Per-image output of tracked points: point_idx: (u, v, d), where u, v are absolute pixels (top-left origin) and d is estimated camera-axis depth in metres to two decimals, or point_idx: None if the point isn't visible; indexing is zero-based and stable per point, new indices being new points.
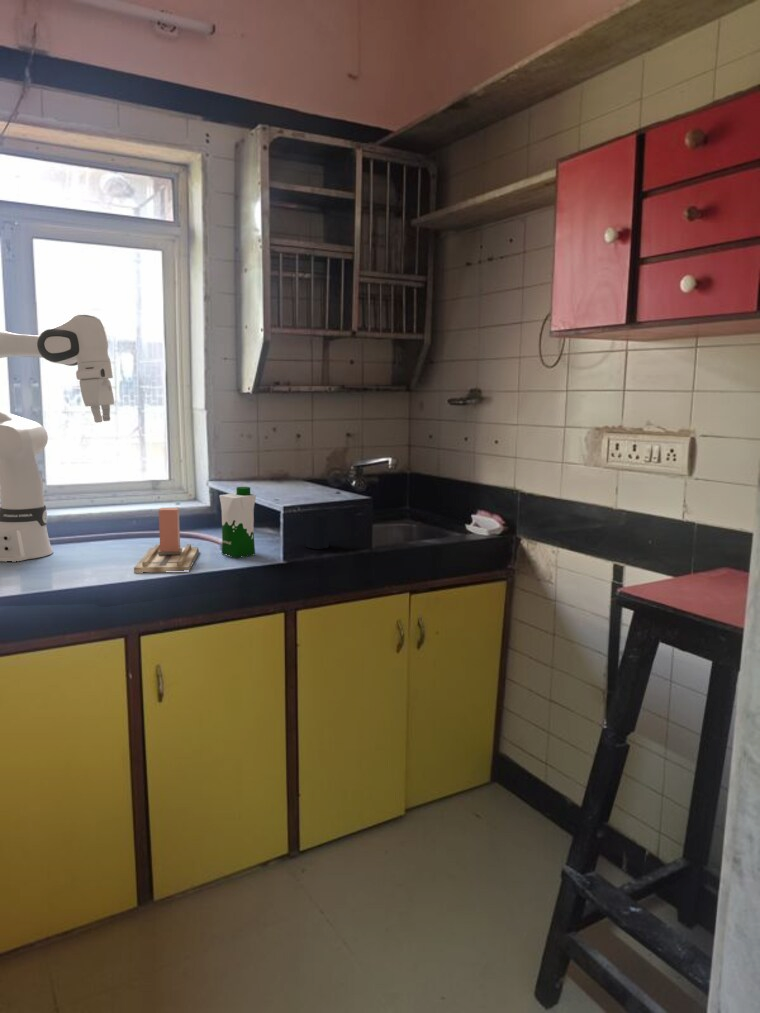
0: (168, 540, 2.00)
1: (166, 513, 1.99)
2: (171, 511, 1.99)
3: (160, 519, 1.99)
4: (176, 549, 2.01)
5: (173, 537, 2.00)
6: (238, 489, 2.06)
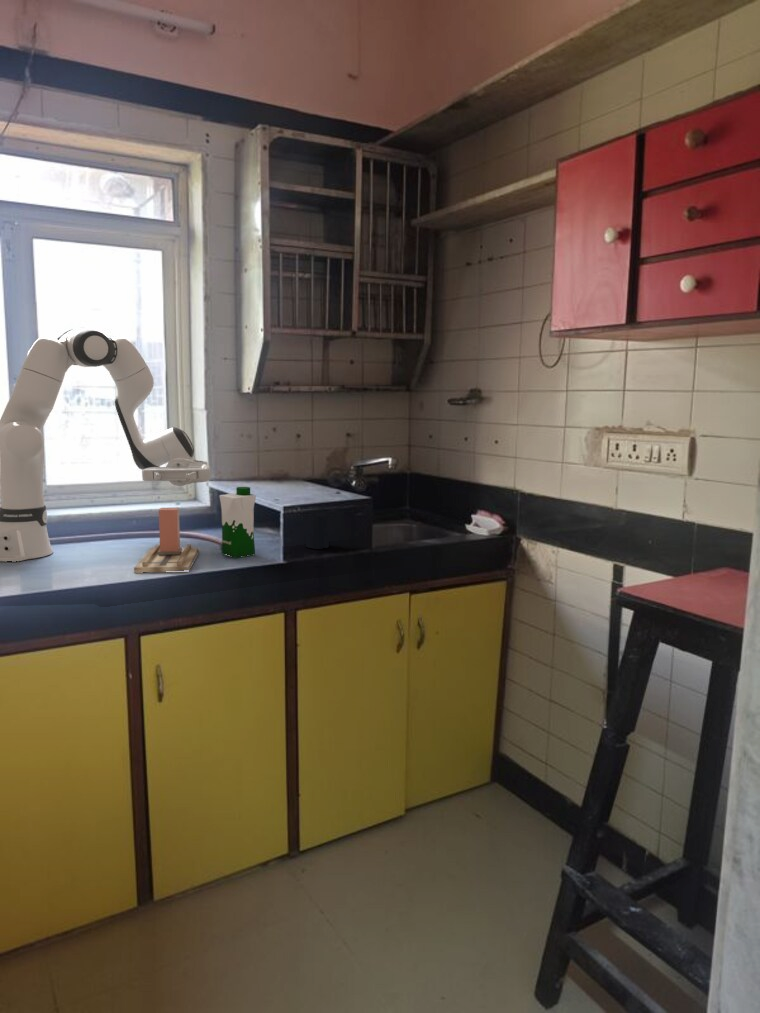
0: (168, 540, 2.00)
1: (166, 513, 1.99)
2: (171, 511, 1.99)
3: (160, 519, 1.99)
4: (176, 549, 2.01)
5: (173, 537, 2.00)
6: (238, 489, 2.06)
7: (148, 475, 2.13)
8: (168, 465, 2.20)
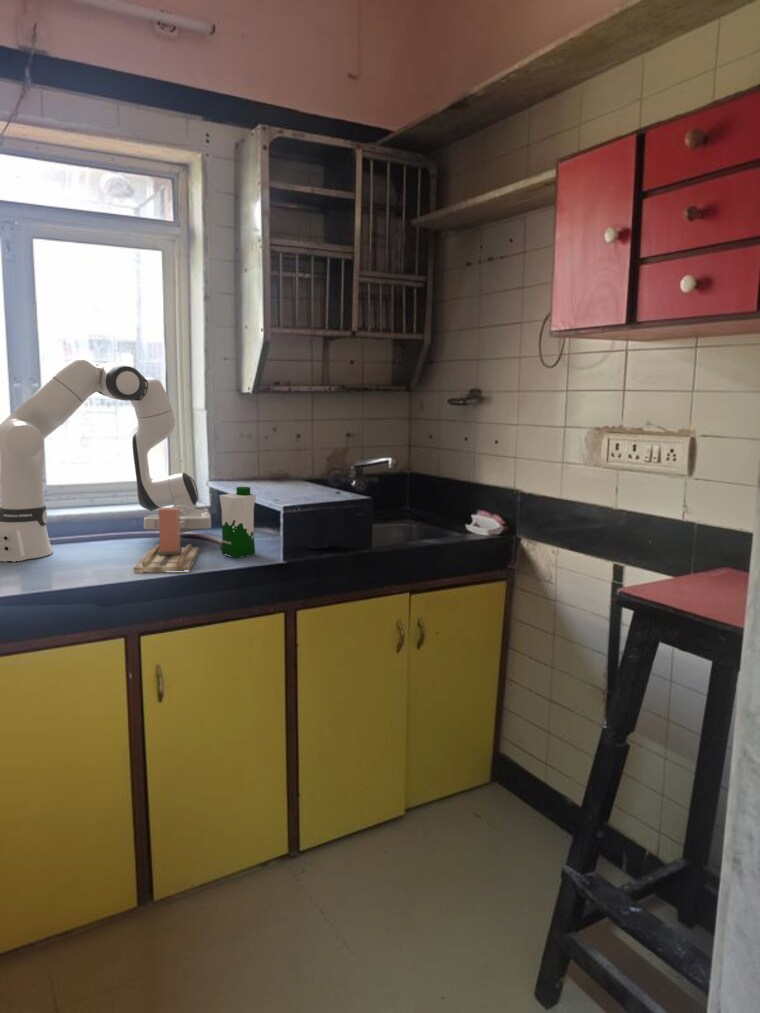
0: (168, 540, 2.00)
1: (166, 513, 1.99)
2: (171, 511, 1.99)
3: (160, 519, 1.99)
4: (176, 549, 2.01)
5: (173, 537, 2.00)
6: (238, 489, 2.06)
7: (149, 523, 2.15)
8: None
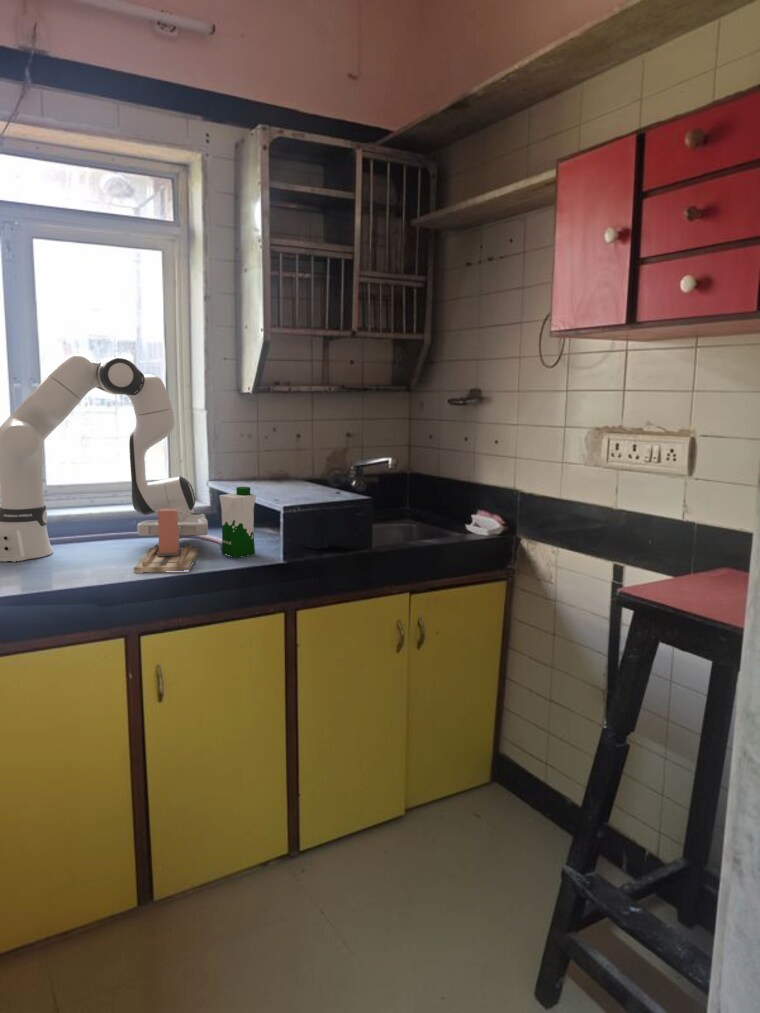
0: (167, 541, 1.99)
1: (166, 514, 1.97)
2: (170, 512, 1.97)
3: (159, 520, 1.97)
4: (175, 550, 1.99)
5: (172, 539, 1.99)
6: (238, 489, 2.06)
7: (143, 530, 2.06)
8: None
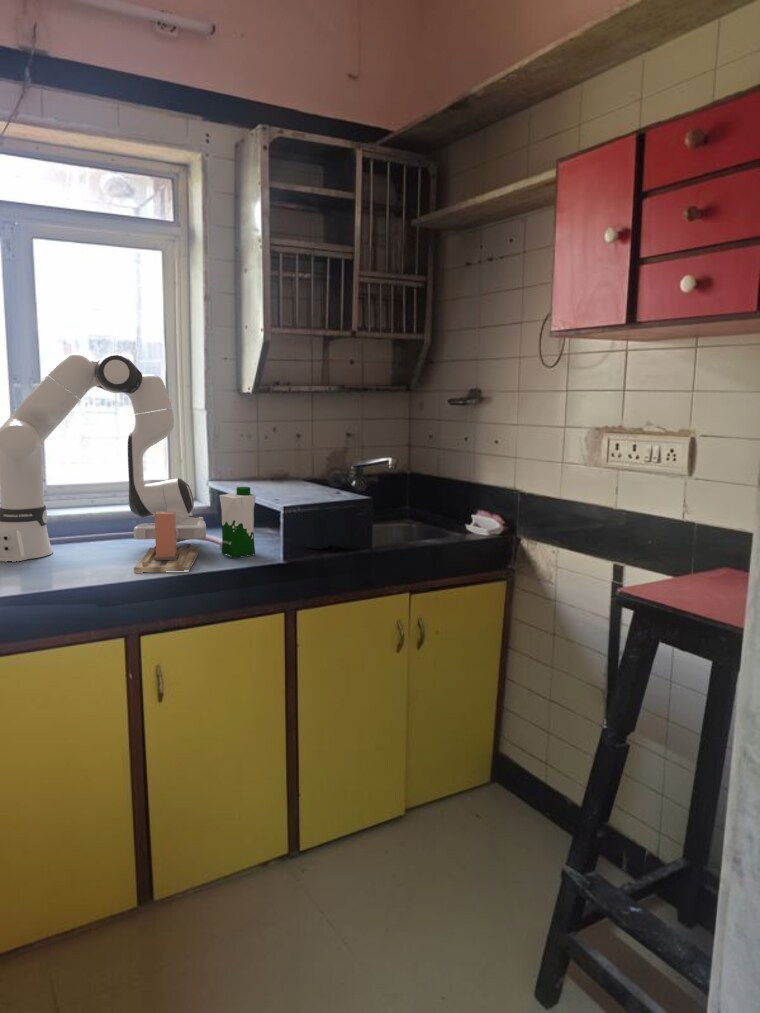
0: (164, 545, 1.94)
1: (163, 517, 1.92)
2: (167, 515, 1.92)
3: (156, 523, 1.92)
4: (173, 554, 1.94)
5: (170, 542, 1.94)
6: (238, 489, 2.06)
7: (140, 533, 2.01)
8: None
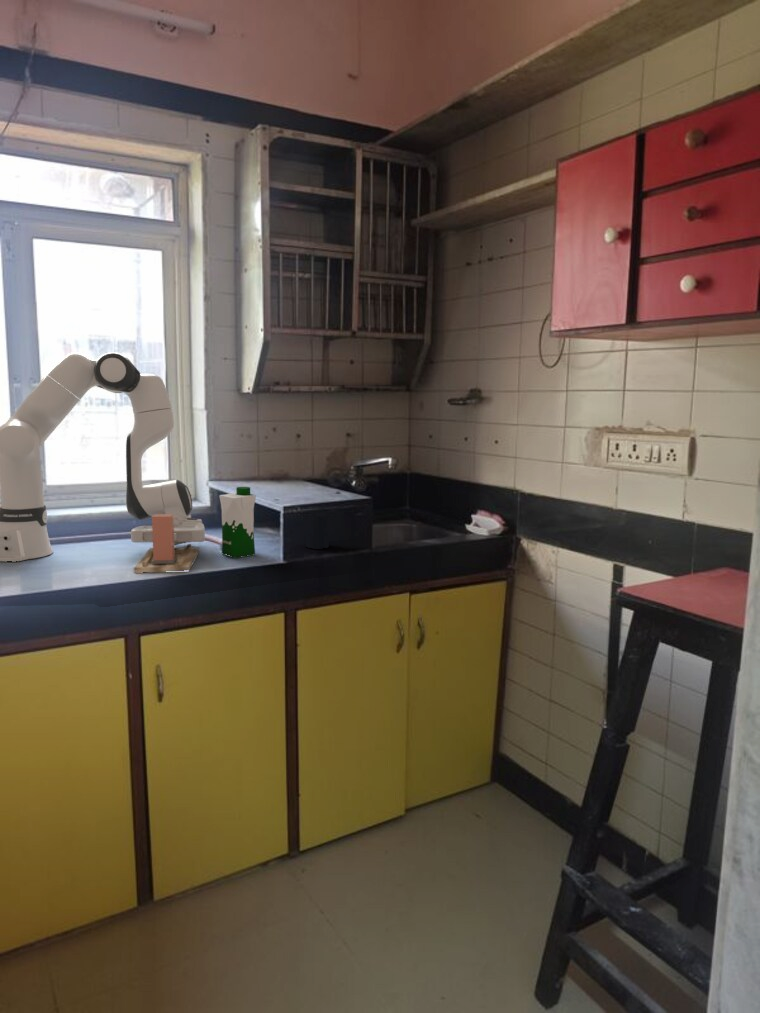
0: (162, 548, 1.90)
1: (160, 519, 1.88)
2: (165, 518, 1.88)
3: (153, 526, 1.88)
4: (170, 558, 1.90)
5: (167, 546, 1.90)
6: (238, 489, 2.06)
7: (137, 536, 1.97)
8: None
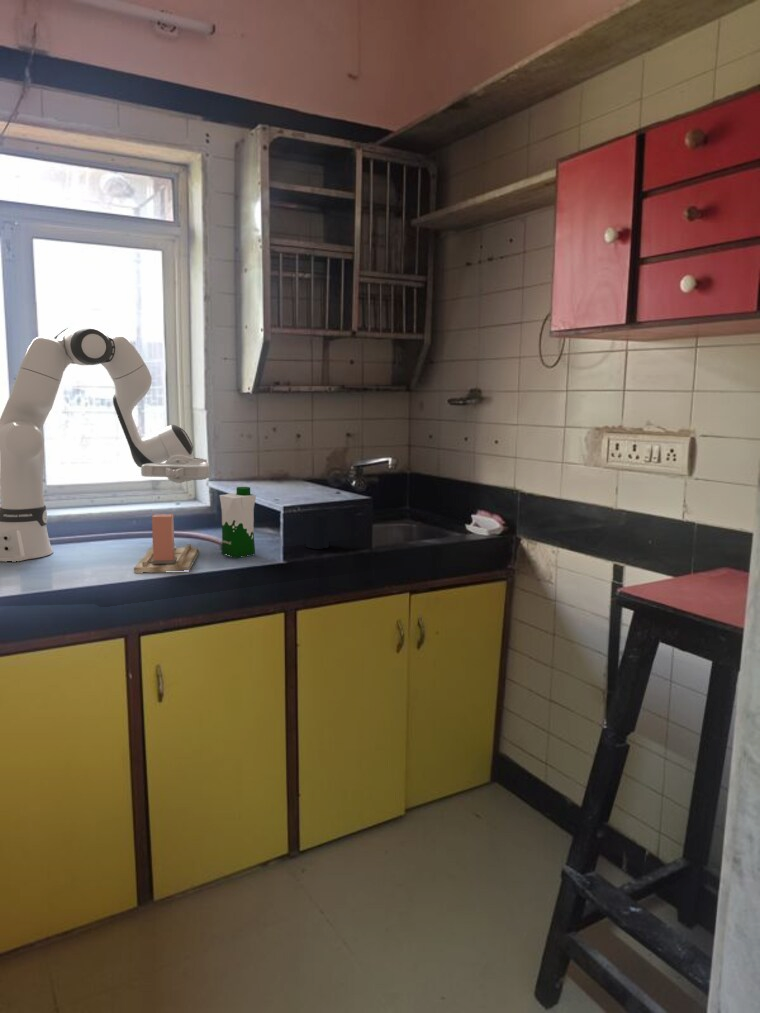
0: (162, 548, 1.90)
1: (160, 520, 1.88)
2: (165, 518, 1.88)
3: (153, 526, 1.88)
4: (170, 558, 1.90)
5: (167, 546, 1.90)
6: (238, 489, 2.06)
7: (147, 470, 2.12)
8: (167, 461, 2.20)
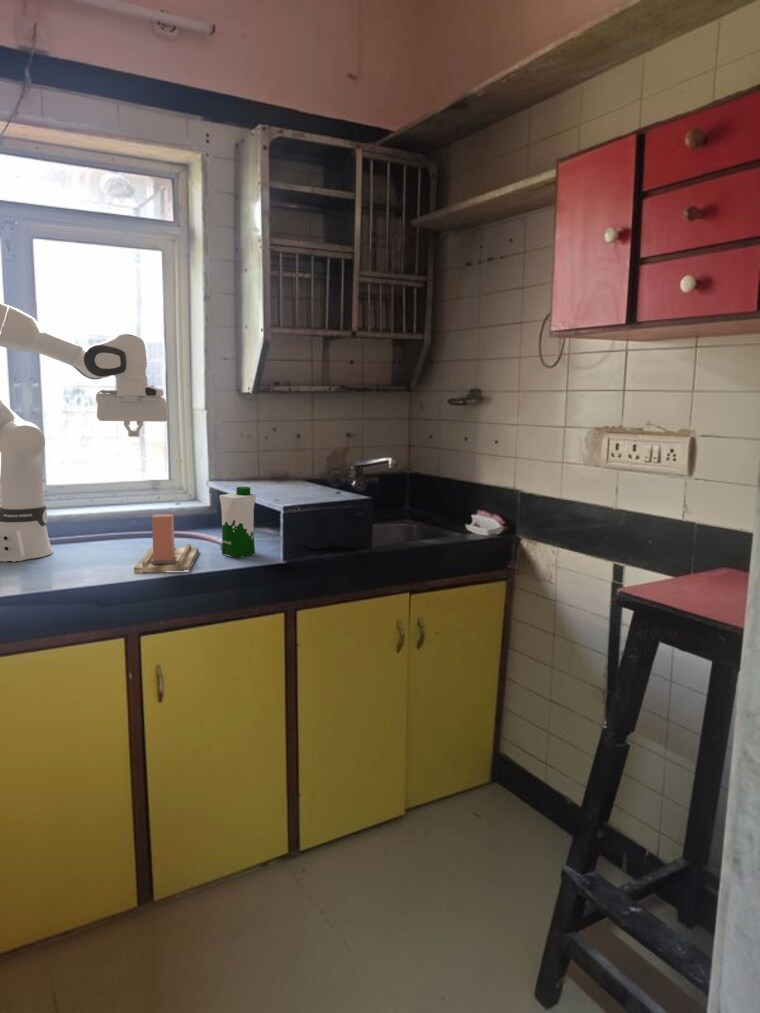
0: (162, 548, 1.90)
1: (160, 520, 1.88)
2: (165, 518, 1.88)
3: (153, 526, 1.88)
4: (170, 558, 1.90)
5: (167, 546, 1.90)
6: (238, 489, 2.06)
7: None
8: (119, 395, 2.07)
